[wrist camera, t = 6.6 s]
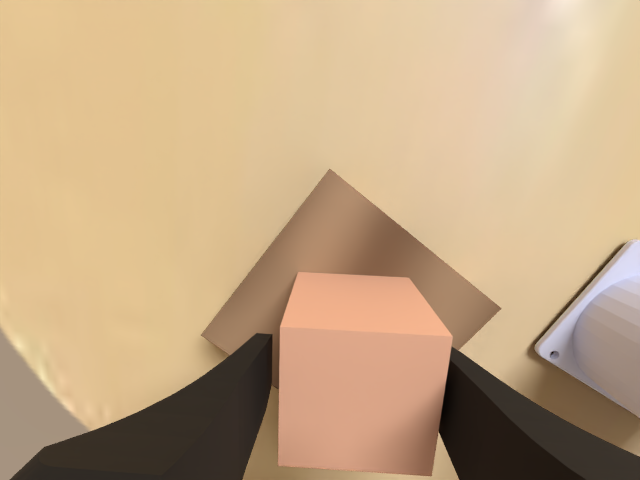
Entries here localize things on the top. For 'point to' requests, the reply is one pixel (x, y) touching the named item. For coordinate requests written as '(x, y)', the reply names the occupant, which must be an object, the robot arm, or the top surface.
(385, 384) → the terracotta cube
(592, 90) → the top surface
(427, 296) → the walnut block
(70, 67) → the top surface
